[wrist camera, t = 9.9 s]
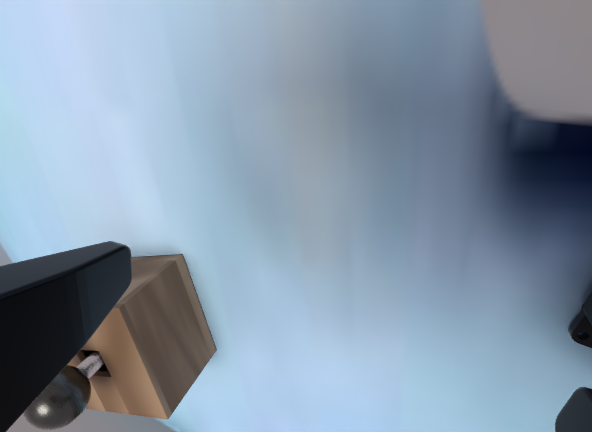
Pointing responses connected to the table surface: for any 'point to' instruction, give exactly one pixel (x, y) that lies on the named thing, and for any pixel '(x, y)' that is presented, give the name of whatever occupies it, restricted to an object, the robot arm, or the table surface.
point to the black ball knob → (64, 395)
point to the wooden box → (150, 342)
